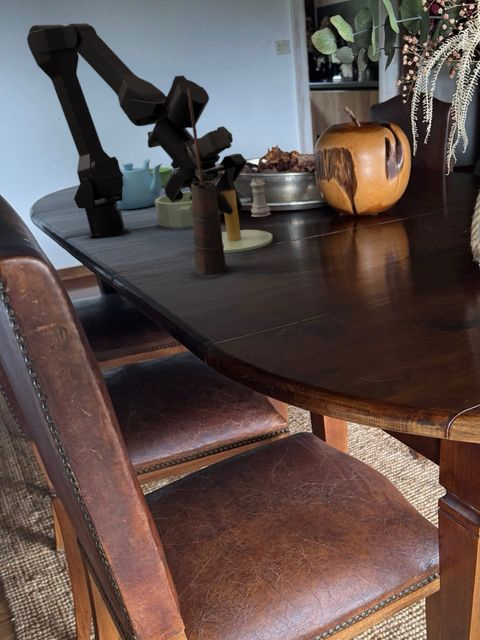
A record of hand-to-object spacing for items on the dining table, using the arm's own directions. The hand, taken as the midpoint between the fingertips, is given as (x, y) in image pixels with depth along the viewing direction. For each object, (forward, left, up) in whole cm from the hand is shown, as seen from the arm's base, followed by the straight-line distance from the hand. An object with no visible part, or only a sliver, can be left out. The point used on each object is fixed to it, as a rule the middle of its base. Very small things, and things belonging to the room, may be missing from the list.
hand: (236, 211), depth 121 cm
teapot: (-26, +54, -7) cm, 60 cm away
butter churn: (-5, -17, -7) cm, 19 cm away
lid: (-1, +1, -6) cm, 6 cm away
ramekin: (-23, +81, -7) cm, 84 cm away
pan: (-11, +26, -7) cm, 29 cm away
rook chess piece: (+5, +24, -7) cm, 25 cm away
